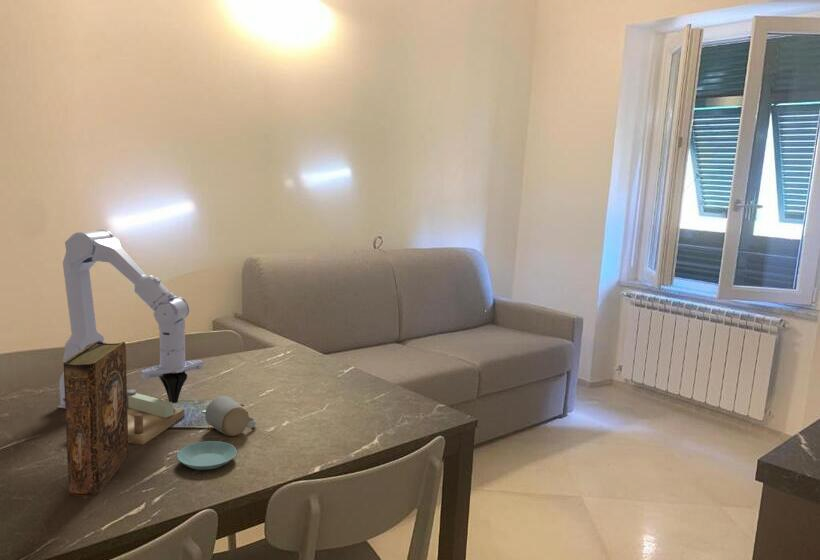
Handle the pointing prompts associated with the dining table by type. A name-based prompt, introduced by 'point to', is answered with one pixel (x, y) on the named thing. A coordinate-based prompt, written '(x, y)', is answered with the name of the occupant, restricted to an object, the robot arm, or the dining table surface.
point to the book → (95, 416)
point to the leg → (149, 404)
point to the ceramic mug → (228, 416)
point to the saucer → (206, 455)
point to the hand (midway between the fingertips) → (173, 401)
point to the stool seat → (149, 424)
